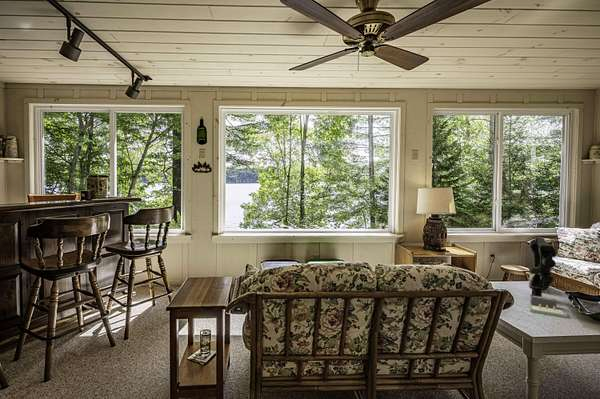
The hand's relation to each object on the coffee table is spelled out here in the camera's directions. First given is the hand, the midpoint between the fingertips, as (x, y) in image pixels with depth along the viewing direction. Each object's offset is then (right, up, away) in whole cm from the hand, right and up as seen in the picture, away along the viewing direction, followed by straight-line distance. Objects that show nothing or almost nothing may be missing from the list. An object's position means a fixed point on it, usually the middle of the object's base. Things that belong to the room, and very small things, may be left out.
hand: (543, 287), depth 209 cm
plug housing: (0, -12, 0) cm, 12 cm away
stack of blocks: (+24, -11, +37) cm, 45 cm away
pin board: (-6, -12, -11) cm, 17 cm away
